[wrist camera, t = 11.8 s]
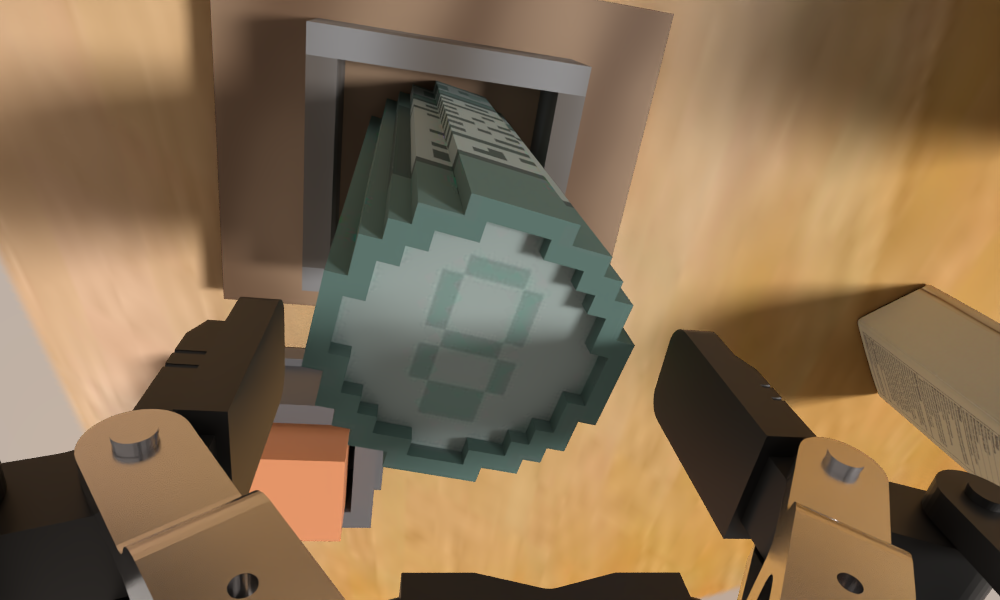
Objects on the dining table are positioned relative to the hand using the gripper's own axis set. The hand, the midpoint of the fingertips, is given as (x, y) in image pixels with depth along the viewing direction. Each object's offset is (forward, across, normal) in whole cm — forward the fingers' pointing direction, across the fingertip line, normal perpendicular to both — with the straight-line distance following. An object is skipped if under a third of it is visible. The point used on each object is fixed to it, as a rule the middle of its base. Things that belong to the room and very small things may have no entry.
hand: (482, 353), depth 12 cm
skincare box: (+16, -26, +7) cm, 32 cm away
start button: (+12, +6, +14) cm, 19 cm away
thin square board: (+15, +1, 0) cm, 16 cm away
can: (+14, 0, 0) cm, 15 cm away
